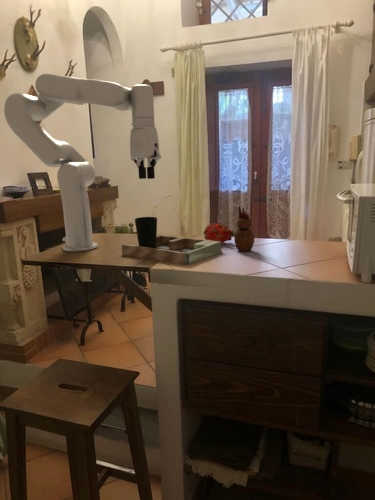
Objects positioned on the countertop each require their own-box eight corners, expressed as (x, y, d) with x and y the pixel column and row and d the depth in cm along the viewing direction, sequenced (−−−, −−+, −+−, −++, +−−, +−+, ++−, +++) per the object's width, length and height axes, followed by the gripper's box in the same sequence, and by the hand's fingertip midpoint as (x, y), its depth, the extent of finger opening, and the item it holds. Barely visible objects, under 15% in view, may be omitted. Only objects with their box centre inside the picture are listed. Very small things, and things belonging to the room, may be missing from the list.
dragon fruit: (202, 246, 150) (232, 252, 146) (197, 237, 142) (229, 243, 138) (208, 226, 153) (238, 232, 149) (204, 216, 145) (235, 222, 141)
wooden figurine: (231, 250, 135) (231, 206, 132) (245, 247, 138) (245, 205, 134) (243, 253, 129) (242, 208, 126) (257, 251, 132) (257, 206, 128)
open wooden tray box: (122, 254, 135) (121, 244, 134) (159, 243, 150) (158, 234, 149) (187, 264, 118) (186, 253, 117) (221, 251, 133) (221, 241, 132)
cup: (156, 255, 132) (154, 220, 129) (134, 255, 133) (131, 220, 130) (161, 250, 139) (159, 216, 136) (140, 250, 140) (138, 216, 138)
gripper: (118, 125, 135) (122, 179, 139) (154, 121, 126) (157, 179, 130) (134, 126, 141) (137, 178, 145) (169, 122, 131) (171, 177, 136)
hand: (146, 178), depth 137 cm, fingers open, 3 cm apart
